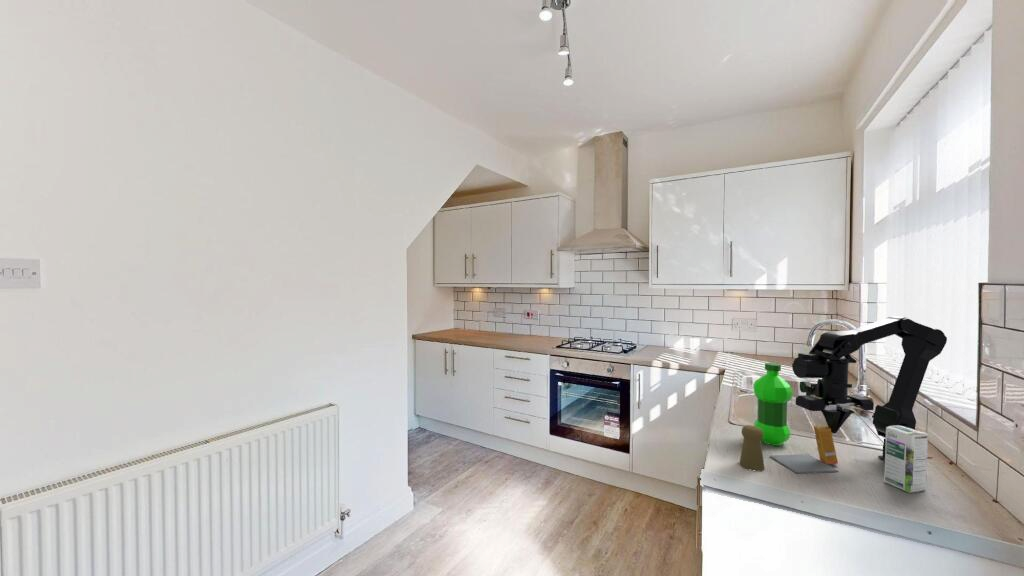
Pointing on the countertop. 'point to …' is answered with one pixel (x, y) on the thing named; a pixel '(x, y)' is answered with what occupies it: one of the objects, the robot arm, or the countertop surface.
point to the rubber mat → (803, 463)
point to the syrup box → (906, 458)
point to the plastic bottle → (772, 405)
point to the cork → (752, 448)
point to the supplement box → (825, 444)
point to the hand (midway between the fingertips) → (833, 432)
